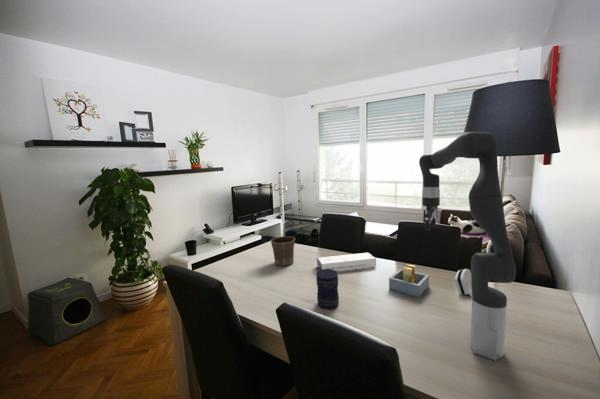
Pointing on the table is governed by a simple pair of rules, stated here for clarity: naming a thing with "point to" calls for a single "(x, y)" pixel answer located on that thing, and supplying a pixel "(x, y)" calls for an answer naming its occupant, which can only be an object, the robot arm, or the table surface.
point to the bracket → (409, 274)
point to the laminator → (347, 262)
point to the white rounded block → (464, 281)
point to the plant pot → (283, 250)
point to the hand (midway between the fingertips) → (430, 228)
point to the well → (409, 284)
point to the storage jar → (327, 289)
